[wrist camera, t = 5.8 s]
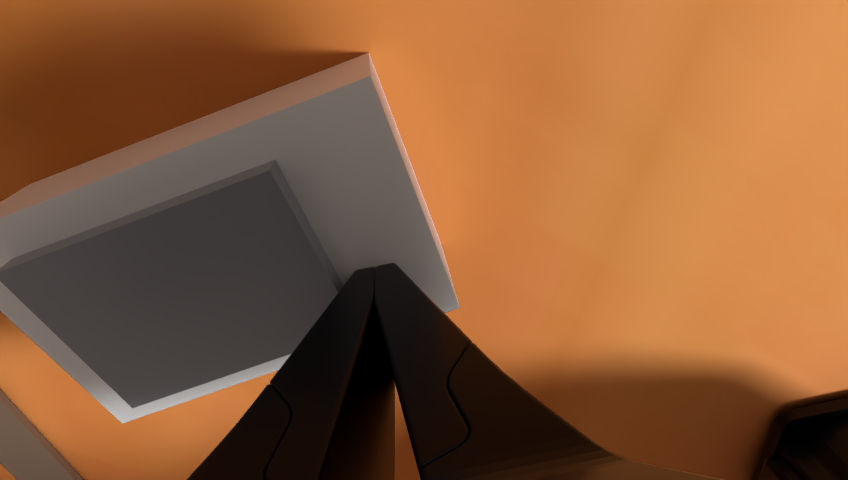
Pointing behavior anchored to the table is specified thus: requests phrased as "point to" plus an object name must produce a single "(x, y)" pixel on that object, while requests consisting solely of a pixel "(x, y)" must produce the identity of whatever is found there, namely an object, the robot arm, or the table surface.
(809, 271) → the table surface
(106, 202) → the stud finder
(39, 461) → the bar
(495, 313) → the table surface
